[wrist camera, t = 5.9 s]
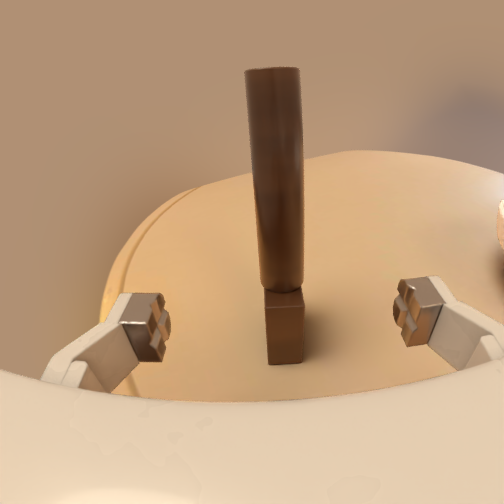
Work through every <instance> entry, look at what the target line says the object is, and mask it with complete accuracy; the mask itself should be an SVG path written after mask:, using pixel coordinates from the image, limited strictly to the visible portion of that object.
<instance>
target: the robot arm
mask: <svg viewBox="0 0 504 504" xmlns="http://www.w3.org/2000/svg"><path fill="white" fill-rule="evenodd" d="M397 290H398V292H399V293H400V294H399V295H398V296H397V297H396V298H395V300H394V305H393V316H394V320H395V322H396V324H397V325H398V326H399V327H401V328H402V332H401V335H402V337H403V340H404V342H405V344H406V346H407V347H411V346H418V345H424V344H427V345H428V346H429V347H430V348H431V349H433V350H434V351H435V352H436V353H437V354H438V355H440V356H441V357H442V358H443V359H444V360H446V361H447V362H448V363H449V364H450V365H451V366H453V367H454V368H455V369H456V370H457V372H453V373H449V374H446V375H442V376H438V377H434V378H430V379H426V380H422V381H417V382H413V383H408V384H403V385H398V386H393V387H388V388H382V389H377V390H371V391H364V392H358V393H351V394H344V395H336V396H327V397H317V398H307V399H294V400H279V401H254V402H206V401H182V400H166V399H154V398H143V397H134V396H126V395H118V394H111V392H112V391H113V390H114V389H115V388H116V387H117V386H118V385H119V384H120V383H121V382H122V380H123V379H124V378H125V377H126V376H127V375H128V374H129V373H130V372H131V371H132V370H133V369H134V368H135V367H136V366H137V365H138V364H139V362H162V361H163V357H164V354H165V350H166V346H165V344H164V342H165V341H166V340H168V339H169V336H170V332H171V322H170V316H169V313H168V312H167V311H166V310H165V309H164V305H165V300H164V297H163V295H162V294H161V293H121V294H120V295H119V296H118V298H117V300H116V302H115V303H114V305H113V307H112V309H111V311H110V313H109V315H108V316H107V318H106V320H105V322H104V323H99V324H98V325H97V326H95V327H93V328H92V329H91V330H89V331H88V332H86V333H85V334H83V335H82V336H81V337H79V338H78V339H76V340H75V341H73V342H72V343H70V344H69V345H67V346H66V347H65V348H63V349H62V350H60V351H59V352H57V353H56V354H55V355H53V356H52V358H51V360H50V362H49V364H48V365H47V367H46V369H45V371H44V373H43V375H42V377H41V379H40V380H38V379H34V378H30V377H26V376H22V375H18V374H15V373H12V372H8V371H5V370H1V369H0V504H504V325H503V324H501V323H499V322H498V321H496V320H494V319H492V318H491V317H489V316H487V315H485V314H483V313H482V312H480V311H478V310H476V309H475V308H473V307H471V306H469V305H467V304H465V303H464V302H462V301H460V302H458V301H457V299H456V298H455V297H454V295H453V294H452V293H451V291H450V290H449V288H448V287H447V286H446V284H445V283H444V282H443V280H442V279H441V278H440V277H439V276H437V275H433V276H425V277H421V278H411V279H401V280H400V282H399V284H398V288H397Z"/></svg>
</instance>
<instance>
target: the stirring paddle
mask: <svg viewBox="0 0 504 504" xmlns="http://www.w3.org/2000/svg"><path fill="white" fill-rule="evenodd" d="M244 74H245V86H246V97H247V110H248V122H249V135H250V145H251V146H250V147H251V160H252V173H253V186H254V199H255V212H256V225H257V239H258V252H259V266H260V280H261V284H262V285H263V287H264V302H265V322H266V337H267V353H268V364H269V365H272V364H290V363H301V362H302V351H303V334H304V314H305V304H304V299H303V293H302V288H301V285H302V283H303V280H304V159H303V158H304V157H303V126H302V106H301V86H300V70H299V68H296V67H266V68H255V69H249V70H246V71H245V72H244Z"/></svg>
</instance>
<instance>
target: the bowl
mask: <svg viewBox="0 0 504 504" xmlns="http://www.w3.org/2000/svg"><path fill="white" fill-rule="evenodd" d="M497 235H498V239H499V242H500V244H501V246H502V248H503V249H504V200H502V201H501V202H500V205H499V209H498V215H497Z"/></svg>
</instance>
